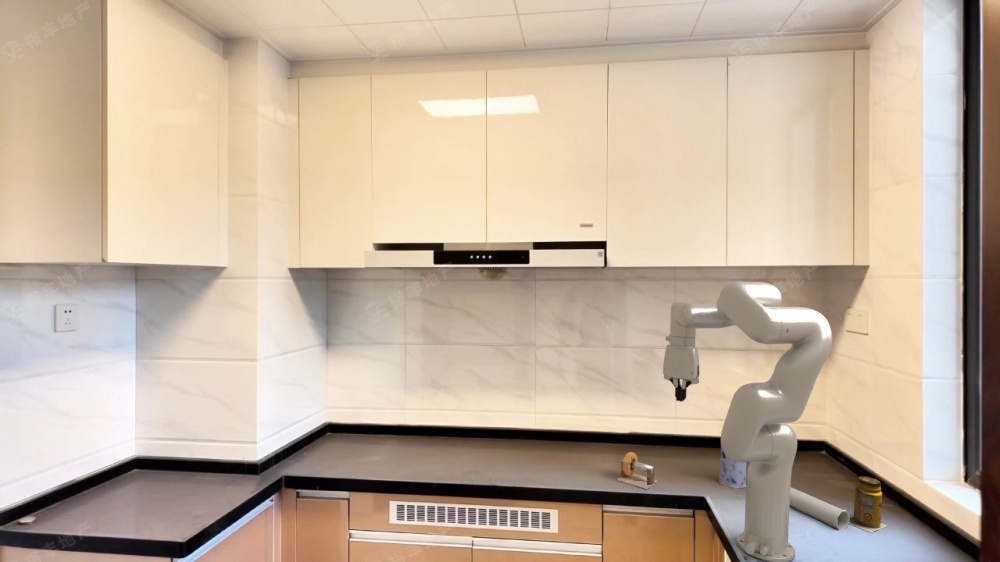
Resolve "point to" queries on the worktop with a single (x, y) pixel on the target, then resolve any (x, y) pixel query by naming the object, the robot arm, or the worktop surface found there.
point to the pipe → (640, 466)
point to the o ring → (627, 462)
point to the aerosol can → (732, 472)
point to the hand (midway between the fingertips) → (680, 400)
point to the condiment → (867, 505)
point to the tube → (819, 509)
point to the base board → (638, 477)
